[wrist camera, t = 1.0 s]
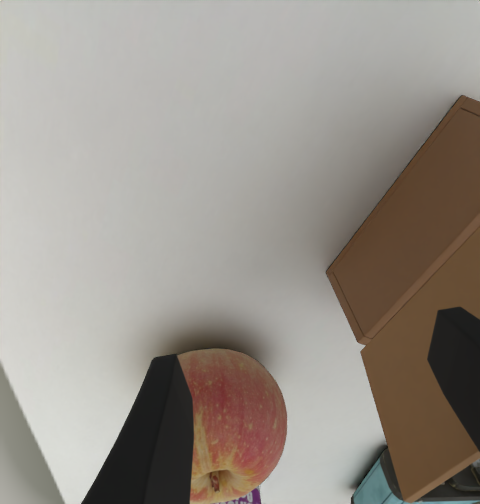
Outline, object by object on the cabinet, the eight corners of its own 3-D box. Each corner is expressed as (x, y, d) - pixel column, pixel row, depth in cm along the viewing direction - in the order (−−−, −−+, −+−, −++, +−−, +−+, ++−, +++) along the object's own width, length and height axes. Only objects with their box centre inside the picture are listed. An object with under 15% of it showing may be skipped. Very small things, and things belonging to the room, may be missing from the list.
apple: (135, 327, 23) (109, 457, 17) (276, 316, 24) (305, 438, 17) (156, 409, 28) (142, 535, 22) (272, 398, 29) (294, 518, 22)
